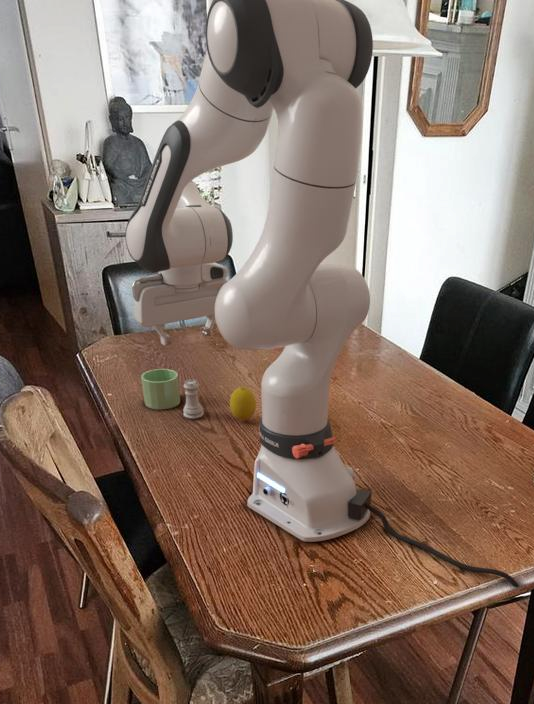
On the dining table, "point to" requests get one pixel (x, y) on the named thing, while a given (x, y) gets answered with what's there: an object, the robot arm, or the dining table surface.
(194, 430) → the dining table surface
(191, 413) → the rook chess piece
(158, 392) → the cup
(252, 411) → the lemon
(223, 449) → the dining table surface
